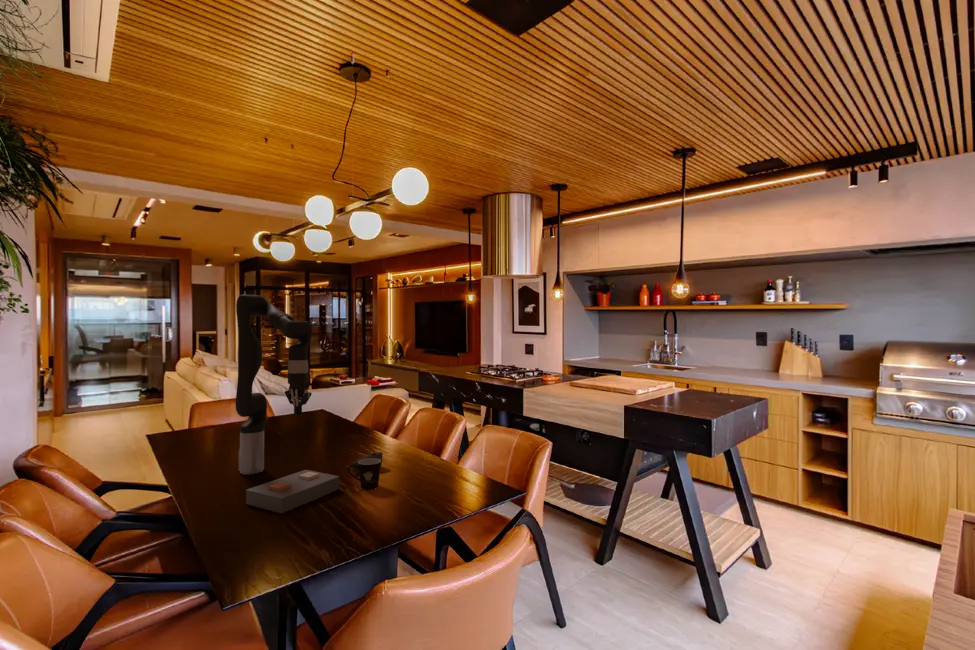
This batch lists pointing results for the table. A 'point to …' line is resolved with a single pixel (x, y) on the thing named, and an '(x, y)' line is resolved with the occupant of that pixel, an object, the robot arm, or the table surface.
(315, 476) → the offwhite key
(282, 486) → the terracotta key
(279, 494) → the key panel
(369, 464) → the coffee mug
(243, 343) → the robot arm
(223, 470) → the table surface
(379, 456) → the perforated stone tool
